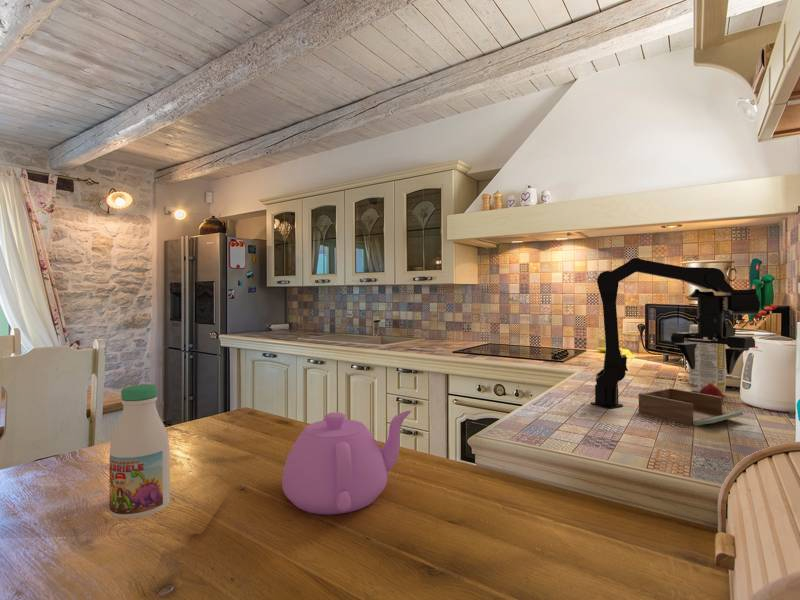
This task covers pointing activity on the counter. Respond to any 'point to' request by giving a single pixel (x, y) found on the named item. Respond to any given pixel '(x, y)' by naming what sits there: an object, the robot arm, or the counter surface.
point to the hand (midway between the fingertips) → (710, 371)
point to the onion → (711, 390)
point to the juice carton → (708, 365)
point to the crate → (680, 405)
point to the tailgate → (718, 418)
